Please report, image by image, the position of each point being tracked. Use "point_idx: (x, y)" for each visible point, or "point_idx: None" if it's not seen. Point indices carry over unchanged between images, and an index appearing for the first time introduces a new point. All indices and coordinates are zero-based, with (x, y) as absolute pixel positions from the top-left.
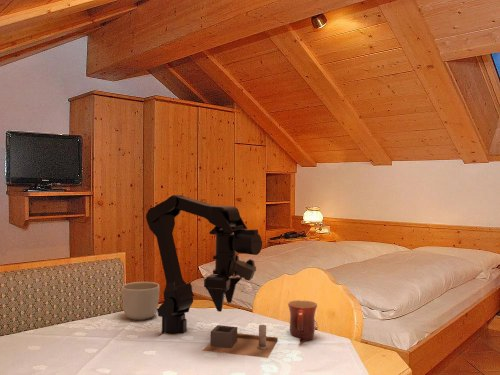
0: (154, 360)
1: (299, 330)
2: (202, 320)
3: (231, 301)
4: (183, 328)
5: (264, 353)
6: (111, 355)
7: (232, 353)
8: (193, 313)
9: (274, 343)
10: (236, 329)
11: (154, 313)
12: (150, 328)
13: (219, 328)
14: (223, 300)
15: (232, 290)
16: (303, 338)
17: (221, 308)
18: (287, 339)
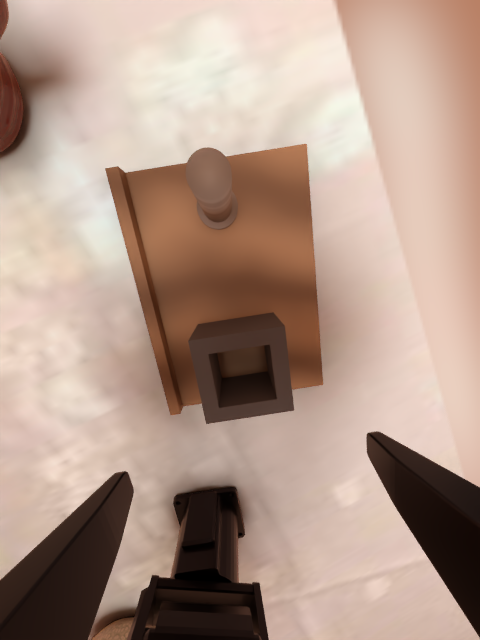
0: None
1: (7, 11)
2: (52, 511)
3: (114, 477)
4: (213, 511)
5: (271, 174)
6: (393, 544)
7: (314, 287)
8: (11, 560)
9: (149, 176)
10: (205, 336)
11: (118, 631)
12: None
13: (222, 403)
14: (461, 505)
15: (30, 613)
16: (5, 62)
17: (401, 445)
18: (36, 163)
